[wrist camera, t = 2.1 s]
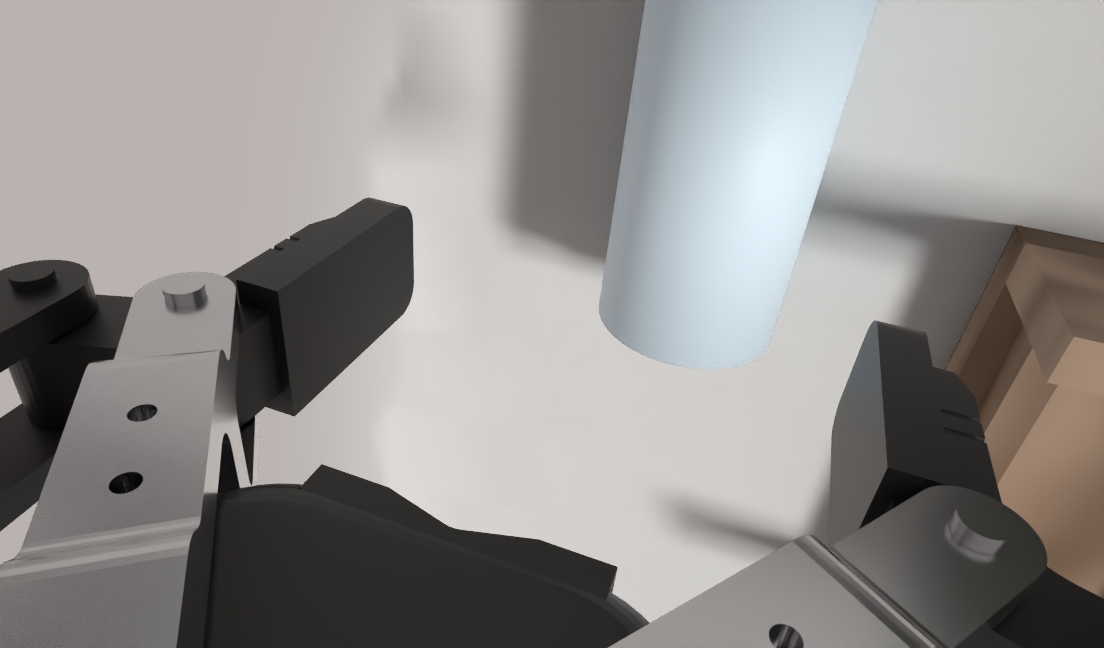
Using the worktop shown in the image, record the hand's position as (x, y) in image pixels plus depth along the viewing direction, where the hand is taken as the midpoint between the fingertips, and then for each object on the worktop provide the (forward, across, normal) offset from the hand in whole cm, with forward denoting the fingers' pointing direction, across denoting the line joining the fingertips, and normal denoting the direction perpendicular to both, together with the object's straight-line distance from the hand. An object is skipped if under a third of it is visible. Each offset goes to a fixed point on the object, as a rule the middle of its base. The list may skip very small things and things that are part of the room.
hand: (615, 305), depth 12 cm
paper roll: (+8, -1, 0) cm, 8 cm away
